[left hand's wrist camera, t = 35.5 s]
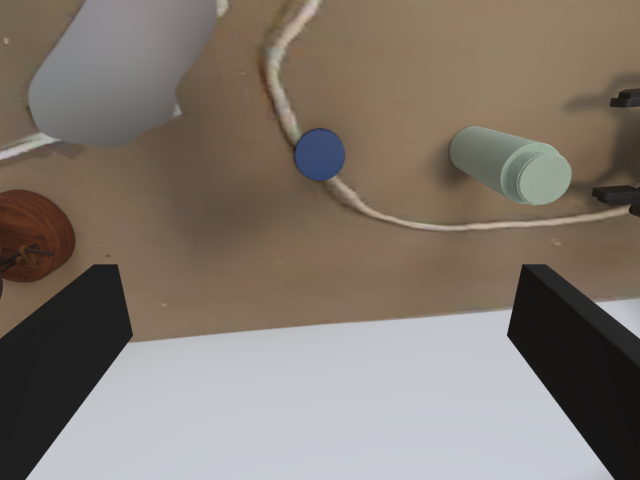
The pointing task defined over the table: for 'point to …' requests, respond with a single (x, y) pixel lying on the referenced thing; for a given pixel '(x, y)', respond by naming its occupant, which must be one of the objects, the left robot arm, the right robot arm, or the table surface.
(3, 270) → the music box
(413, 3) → the table surface
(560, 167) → the green bottle
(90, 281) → the left robot arm
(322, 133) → the lid
